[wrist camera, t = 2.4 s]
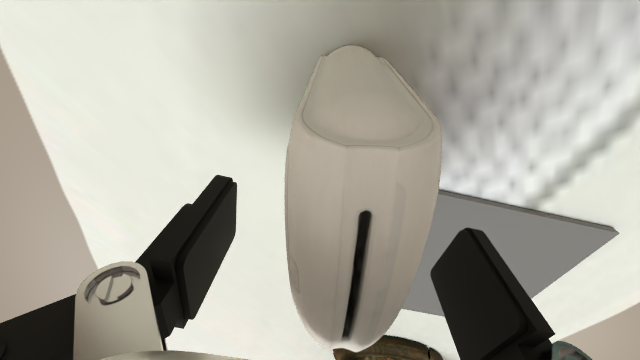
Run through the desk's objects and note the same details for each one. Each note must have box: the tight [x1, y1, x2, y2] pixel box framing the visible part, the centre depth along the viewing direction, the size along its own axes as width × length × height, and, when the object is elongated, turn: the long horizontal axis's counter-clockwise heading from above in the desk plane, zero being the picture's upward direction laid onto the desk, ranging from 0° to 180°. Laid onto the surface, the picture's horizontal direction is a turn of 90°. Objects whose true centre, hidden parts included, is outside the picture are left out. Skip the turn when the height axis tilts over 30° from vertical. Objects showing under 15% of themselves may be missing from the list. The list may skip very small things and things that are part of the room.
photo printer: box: [285, 45, 442, 352], centre depth 11 cm, size 10×4×12 cm, turn 179°
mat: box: [401, 190, 619, 317], centre depth 23 cm, size 16×16×1 cm
